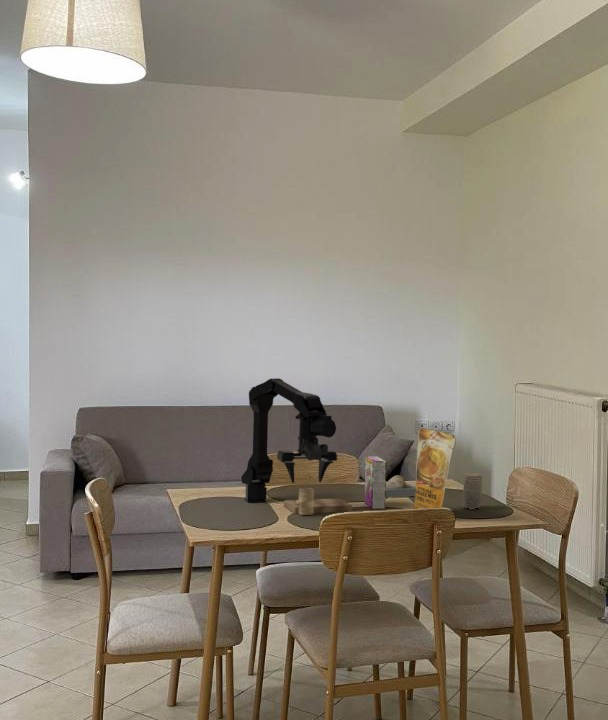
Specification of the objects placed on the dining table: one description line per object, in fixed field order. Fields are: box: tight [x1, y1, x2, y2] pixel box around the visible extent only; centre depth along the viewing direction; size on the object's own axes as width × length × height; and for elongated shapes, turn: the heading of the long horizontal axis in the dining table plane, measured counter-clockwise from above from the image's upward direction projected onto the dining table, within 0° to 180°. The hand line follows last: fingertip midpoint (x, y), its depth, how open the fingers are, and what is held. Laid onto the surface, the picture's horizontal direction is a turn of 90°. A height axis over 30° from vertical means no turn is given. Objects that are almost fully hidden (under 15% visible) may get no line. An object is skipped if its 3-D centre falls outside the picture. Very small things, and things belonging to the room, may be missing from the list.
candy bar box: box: [364, 455, 387, 510], centre depth 286 cm, size 11×5×16 cm, turn 9°
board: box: [283, 498, 353, 515], centre depth 279 cm, size 20×12×2 cm, turn 109°
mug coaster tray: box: [385, 483, 416, 498], centre depth 311 cm, size 15×14×3 cm
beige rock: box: [386, 474, 407, 489], centre depth 310 cm, size 8×10×10 cm
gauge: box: [295, 487, 315, 516], centre depth 272 cm, size 4×9×8 cm, turn 19°
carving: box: [461, 472, 483, 509], centre depth 287 cm, size 6×8×12 cm
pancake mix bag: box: [413, 427, 457, 510], centre depth 273 cm, size 7×19×28 cm, turn 23°
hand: (306, 482), depth 269 cm, fingers open, 9 cm apart
